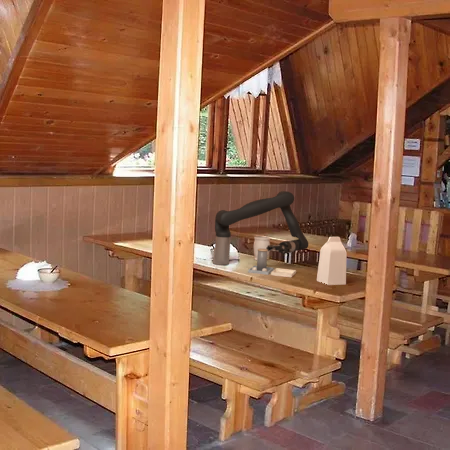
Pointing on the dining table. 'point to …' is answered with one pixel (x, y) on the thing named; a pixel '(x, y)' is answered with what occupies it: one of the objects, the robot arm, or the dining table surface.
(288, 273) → the tray
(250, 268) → the tray
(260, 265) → the canister
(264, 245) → the jar
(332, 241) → the milk
